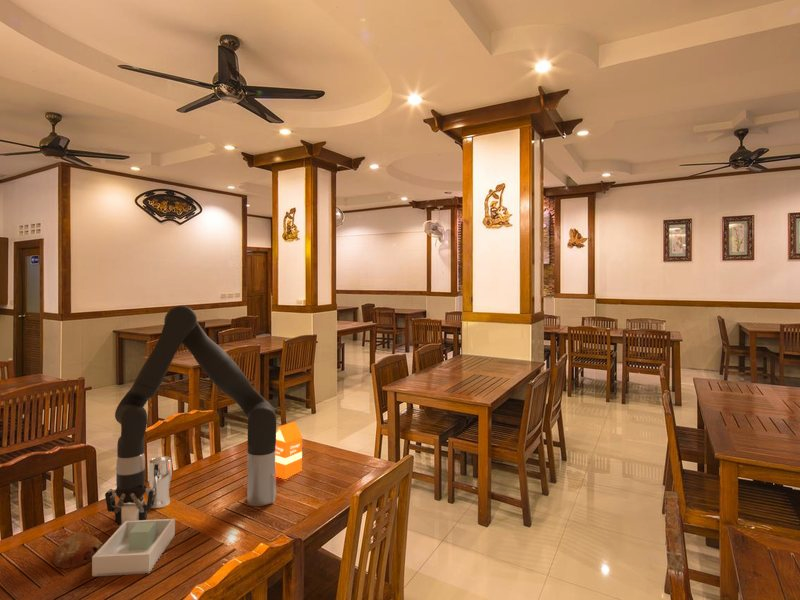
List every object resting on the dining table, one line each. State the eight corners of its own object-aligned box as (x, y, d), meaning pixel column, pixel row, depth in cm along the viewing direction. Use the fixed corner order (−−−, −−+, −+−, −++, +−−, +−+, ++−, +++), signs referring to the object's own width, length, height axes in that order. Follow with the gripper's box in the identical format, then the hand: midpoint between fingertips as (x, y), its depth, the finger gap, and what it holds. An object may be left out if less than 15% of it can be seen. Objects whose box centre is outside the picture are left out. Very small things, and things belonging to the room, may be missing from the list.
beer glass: (161, 510, 148) (161, 465, 147) (143, 507, 149) (143, 462, 149) (176, 500, 155) (176, 457, 154) (158, 498, 156) (158, 455, 156)
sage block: (155, 539, 130) (155, 522, 130) (148, 549, 125) (148, 531, 125) (137, 540, 130) (137, 523, 129) (128, 550, 125) (128, 532, 124)
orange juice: (302, 472, 179) (302, 422, 179) (285, 480, 172) (285, 428, 171) (288, 468, 183) (288, 419, 183) (271, 475, 176) (271, 424, 175)
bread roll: (77, 559, 127) (64, 534, 126) (112, 543, 128) (99, 518, 127) (53, 582, 117) (39, 556, 117) (91, 565, 118) (77, 538, 117)
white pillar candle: (143, 522, 141) (143, 499, 140) (136, 530, 136) (136, 507, 135) (126, 522, 140) (126, 500, 140) (118, 531, 135) (118, 508, 135)
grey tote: (174, 535, 133) (174, 518, 133) (149, 573, 116) (149, 554, 116) (125, 537, 132) (125, 520, 132) (92, 576, 114) (92, 557, 114)
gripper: (161, 463, 142) (160, 516, 142) (111, 464, 140) (112, 518, 141) (150, 473, 134) (150, 528, 135) (98, 474, 133) (99, 531, 133)
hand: (131, 523), depth 138 cm, fingers open, 5 cm apart
